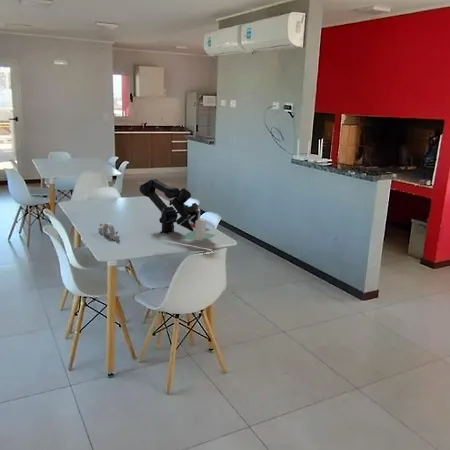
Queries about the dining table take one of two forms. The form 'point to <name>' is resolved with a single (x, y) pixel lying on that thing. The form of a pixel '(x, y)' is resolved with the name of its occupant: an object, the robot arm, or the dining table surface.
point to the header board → (192, 236)
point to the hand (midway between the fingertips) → (196, 229)
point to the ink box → (198, 218)
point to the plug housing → (200, 229)
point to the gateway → (112, 233)
